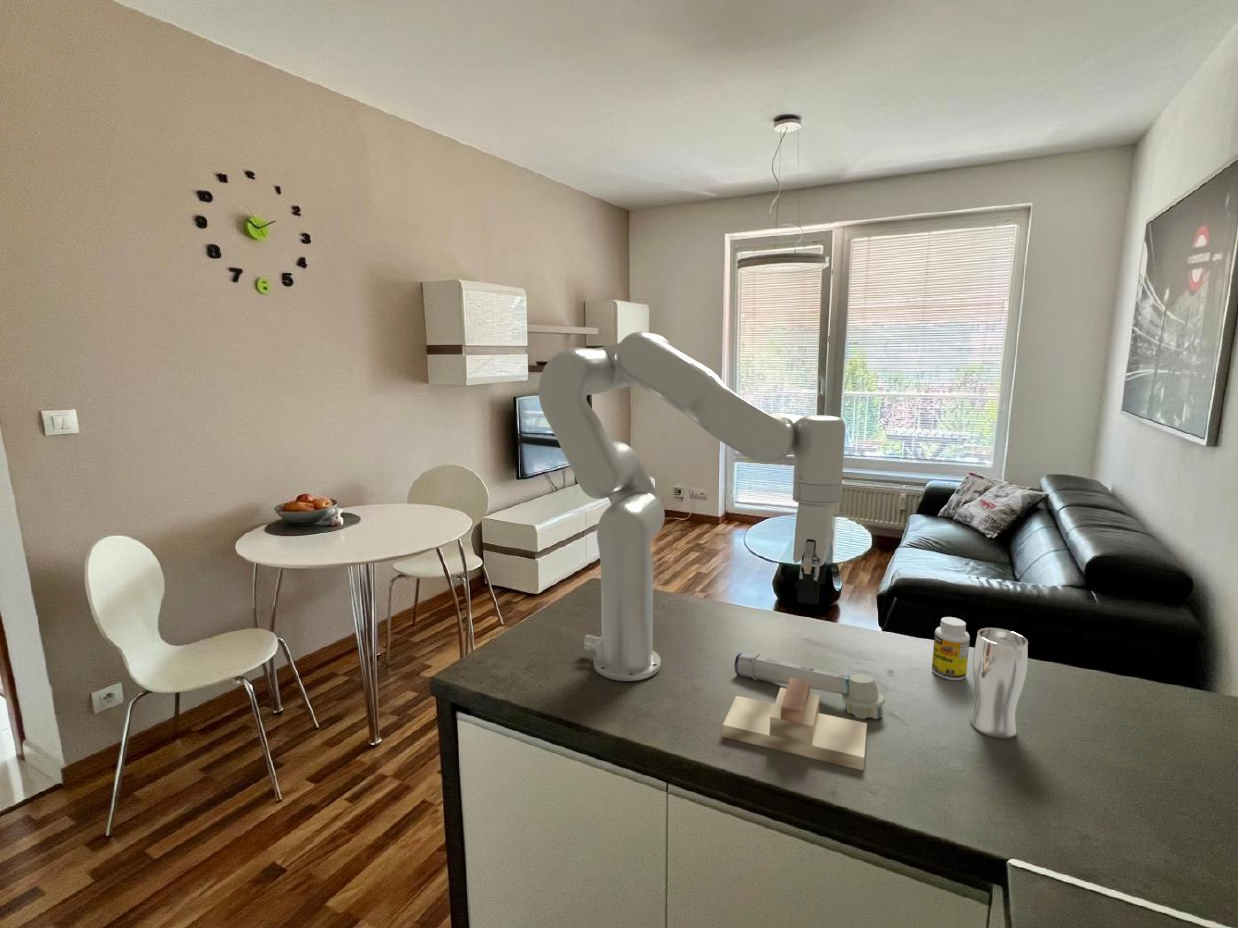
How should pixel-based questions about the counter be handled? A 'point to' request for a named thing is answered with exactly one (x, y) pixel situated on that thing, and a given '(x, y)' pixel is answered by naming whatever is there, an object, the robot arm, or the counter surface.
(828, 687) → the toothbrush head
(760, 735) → the stepped podium stack
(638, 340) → the robot arm
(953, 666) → the supplement bottle
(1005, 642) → the beer glass
